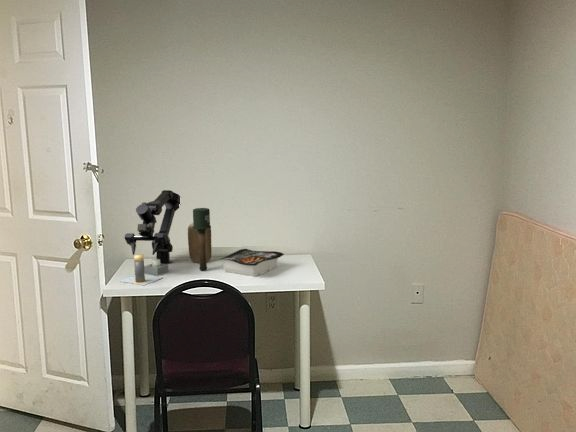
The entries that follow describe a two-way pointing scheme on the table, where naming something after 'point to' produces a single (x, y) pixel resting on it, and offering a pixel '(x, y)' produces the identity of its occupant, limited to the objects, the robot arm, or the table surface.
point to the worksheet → (147, 280)
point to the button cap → (155, 262)
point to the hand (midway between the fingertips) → (143, 254)
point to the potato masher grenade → (202, 232)
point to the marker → (139, 268)
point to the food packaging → (251, 262)
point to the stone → (198, 244)
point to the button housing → (156, 269)
